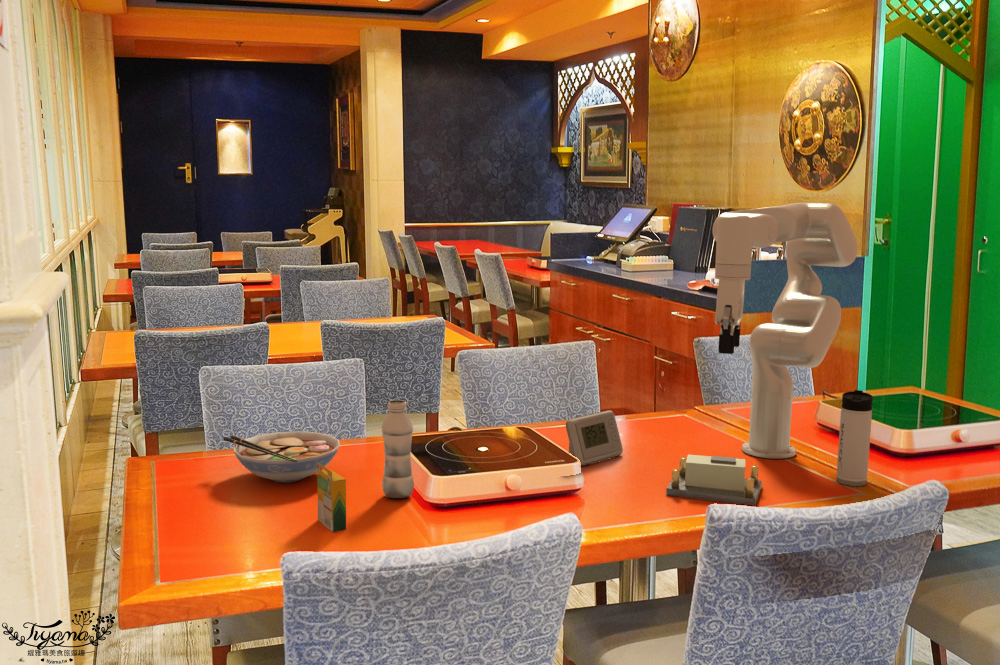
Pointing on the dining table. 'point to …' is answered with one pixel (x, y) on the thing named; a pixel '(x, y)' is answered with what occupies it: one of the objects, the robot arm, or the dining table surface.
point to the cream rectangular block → (715, 472)
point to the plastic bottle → (397, 451)
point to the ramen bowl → (285, 454)
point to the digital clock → (594, 437)
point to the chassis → (715, 494)
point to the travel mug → (854, 438)
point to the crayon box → (331, 499)
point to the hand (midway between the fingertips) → (728, 349)
